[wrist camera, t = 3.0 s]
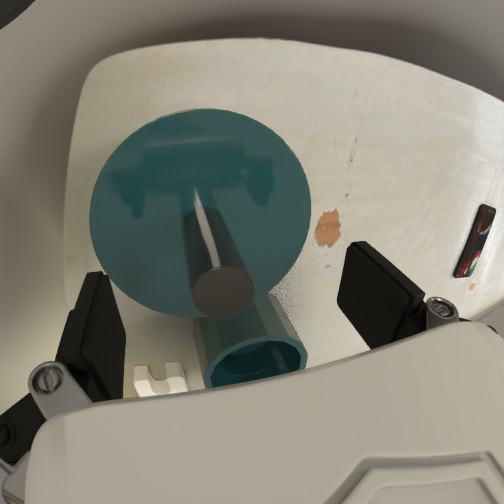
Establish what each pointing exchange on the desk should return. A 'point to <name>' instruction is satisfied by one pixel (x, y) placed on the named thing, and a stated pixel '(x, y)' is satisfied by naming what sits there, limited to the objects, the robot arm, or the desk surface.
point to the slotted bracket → (154, 387)
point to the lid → (200, 213)
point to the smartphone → (475, 241)
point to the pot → (248, 345)
